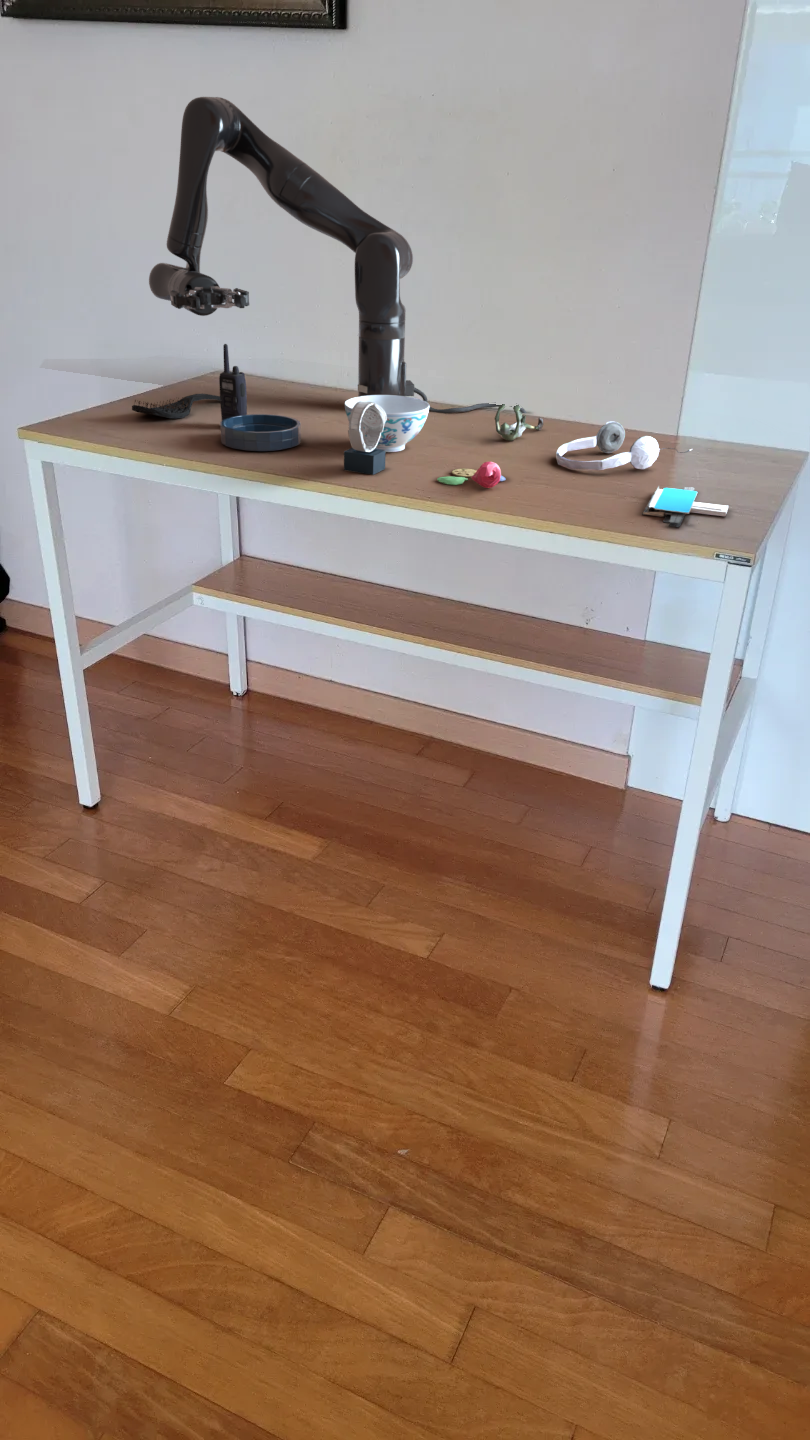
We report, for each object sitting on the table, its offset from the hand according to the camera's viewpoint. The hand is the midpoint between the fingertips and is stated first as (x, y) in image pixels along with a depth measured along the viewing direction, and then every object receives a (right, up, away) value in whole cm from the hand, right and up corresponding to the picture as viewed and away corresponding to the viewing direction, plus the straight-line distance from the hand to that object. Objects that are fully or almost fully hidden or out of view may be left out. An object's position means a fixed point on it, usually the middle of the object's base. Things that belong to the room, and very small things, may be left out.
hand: (220, 303), depth 199 cm
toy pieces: (+46, -38, -23) cm, 64 cm away
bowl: (+8, -27, -6) cm, 29 cm away
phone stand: (+78, -45, -34) cm, 96 cm away
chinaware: (+31, -29, -6) cm, 42 cm away
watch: (+27, -36, -19) cm, 49 cm away
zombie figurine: (+55, -24, +4) cm, 60 cm away
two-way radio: (+2, -22, +4) cm, 23 cm away
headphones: (+71, -33, -12) cm, 79 cm away
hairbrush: (-10, -16, +14) cm, 24 cm away
